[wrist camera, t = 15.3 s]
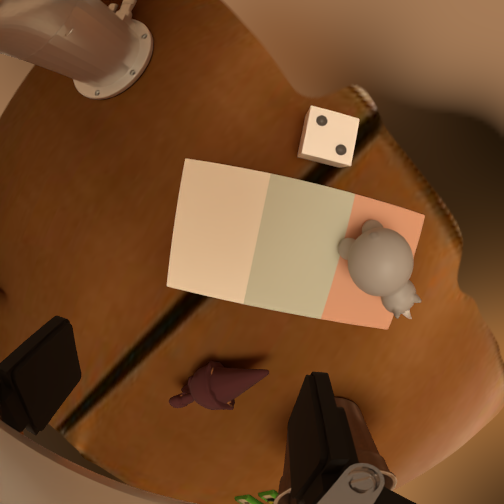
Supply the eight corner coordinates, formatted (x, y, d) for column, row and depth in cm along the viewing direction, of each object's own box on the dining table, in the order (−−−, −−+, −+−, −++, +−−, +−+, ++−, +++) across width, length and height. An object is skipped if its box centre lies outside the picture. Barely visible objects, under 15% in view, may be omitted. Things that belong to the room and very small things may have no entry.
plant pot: (333, 455, 43) (344, 522, 27) (257, 435, 42) (251, 513, 27) (389, 400, 39) (420, 473, 23) (309, 373, 38) (323, 463, 22)
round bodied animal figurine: (370, 317, 35) (392, 351, 27) (327, 241, 33) (344, 262, 25) (414, 287, 34) (445, 314, 26) (376, 209, 32) (407, 219, 24)
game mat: (185, 158, 32) (185, 158, 32) (424, 215, 32) (425, 215, 31) (167, 285, 36) (166, 286, 36) (387, 328, 36) (387, 329, 35)
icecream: (248, 357, 31) (152, 384, 34) (275, 409, 30) (177, 427, 34) (262, 337, 37) (175, 365, 41) (284, 382, 37) (197, 404, 41)
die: (305, 116, 30) (311, 105, 25) (347, 127, 30) (359, 118, 25) (296, 157, 31) (301, 153, 26) (339, 167, 31) (351, 165, 26)
